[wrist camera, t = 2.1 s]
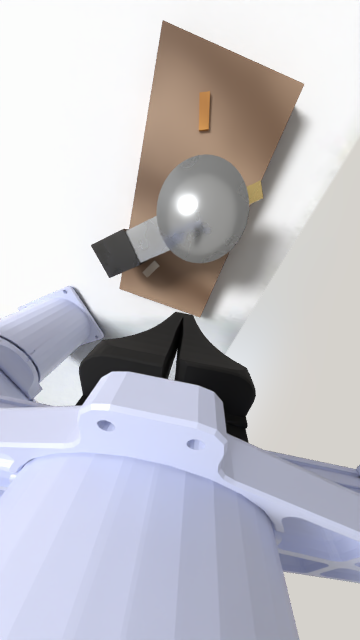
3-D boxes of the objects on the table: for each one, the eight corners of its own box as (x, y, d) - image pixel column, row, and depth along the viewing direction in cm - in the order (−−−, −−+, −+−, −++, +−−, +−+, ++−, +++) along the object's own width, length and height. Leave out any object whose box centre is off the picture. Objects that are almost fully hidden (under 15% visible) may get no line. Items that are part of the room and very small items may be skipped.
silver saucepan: (244, 145, 11) (258, 118, 9) (260, 236, 14) (274, 237, 11) (97, 224, 15) (74, 222, 12) (130, 287, 17) (117, 297, 14)
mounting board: (124, 285, 20) (115, 291, 18) (167, 44, 12) (159, -1, 9) (200, 311, 21) (200, 321, 18) (293, 100, 12) (313, 70, 10)
